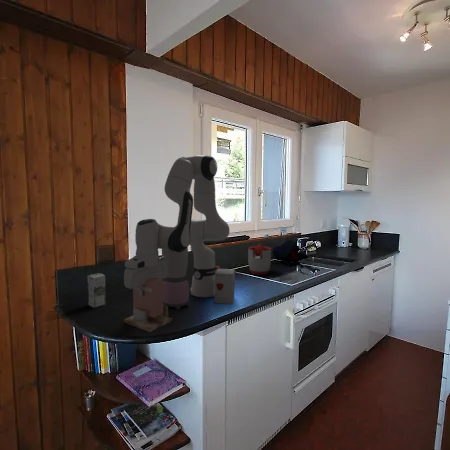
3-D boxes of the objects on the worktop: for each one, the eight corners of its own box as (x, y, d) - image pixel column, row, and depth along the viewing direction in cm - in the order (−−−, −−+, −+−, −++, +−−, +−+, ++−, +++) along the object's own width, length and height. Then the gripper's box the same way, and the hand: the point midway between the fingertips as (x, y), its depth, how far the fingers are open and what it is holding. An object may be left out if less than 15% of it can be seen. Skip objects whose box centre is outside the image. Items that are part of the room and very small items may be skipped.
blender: (194, 304, 143) (194, 237, 140) (175, 311, 134) (174, 240, 130) (172, 297, 153) (172, 234, 150) (153, 303, 144) (152, 237, 140)
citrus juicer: (244, 275, 196) (245, 245, 194) (250, 269, 212) (250, 241, 210) (268, 277, 191) (269, 246, 189) (272, 271, 208) (273, 242, 206)
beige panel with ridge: (147, 313, 132) (147, 298, 131) (172, 321, 123) (172, 306, 123) (124, 322, 122) (123, 307, 121) (149, 332, 114) (149, 315, 113)
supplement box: (214, 303, 145) (214, 272, 143) (217, 297, 154) (217, 268, 152) (232, 304, 144) (233, 273, 142) (234, 298, 152) (235, 269, 151)
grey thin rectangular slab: (135, 319, 122) (135, 307, 121) (147, 323, 118) (147, 311, 117) (133, 320, 121) (133, 308, 120) (145, 324, 117) (144, 312, 116)
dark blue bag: (286, 272, 241) (318, 269, 218) (263, 263, 228) (295, 259, 204) (289, 247, 249) (320, 242, 225) (267, 237, 235) (297, 231, 212)
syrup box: (99, 302, 145) (98, 272, 143) (106, 305, 141) (105, 274, 140) (88, 305, 141) (86, 275, 139) (94, 308, 137) (93, 277, 135)
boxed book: (143, 307, 127) (142, 274, 126) (163, 313, 121) (162, 279, 120) (133, 310, 123) (132, 277, 122) (153, 317, 117) (153, 282, 115)
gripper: (160, 255, 130) (161, 286, 132) (120, 263, 114) (121, 299, 115) (171, 256, 127) (171, 288, 128) (131, 265, 110) (132, 302, 111)
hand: (147, 293), depth 121 cm, fingers closed on boxed book, 5 cm apart
